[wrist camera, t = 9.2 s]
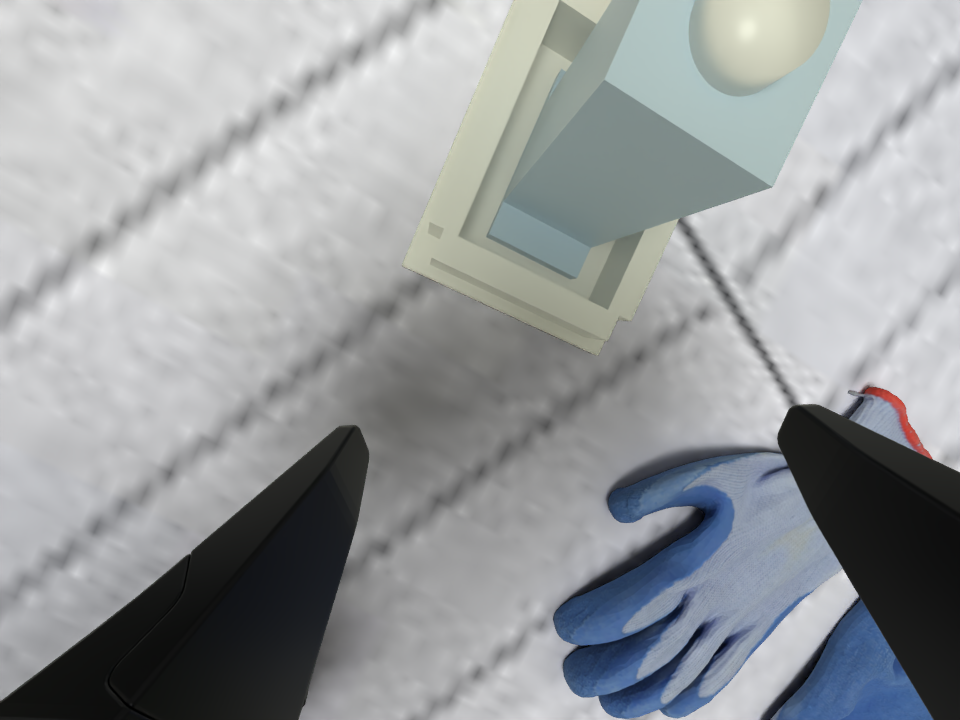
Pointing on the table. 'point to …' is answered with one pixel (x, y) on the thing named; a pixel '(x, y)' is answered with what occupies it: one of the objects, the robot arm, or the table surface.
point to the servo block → (666, 119)
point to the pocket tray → (485, 178)
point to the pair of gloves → (732, 595)
